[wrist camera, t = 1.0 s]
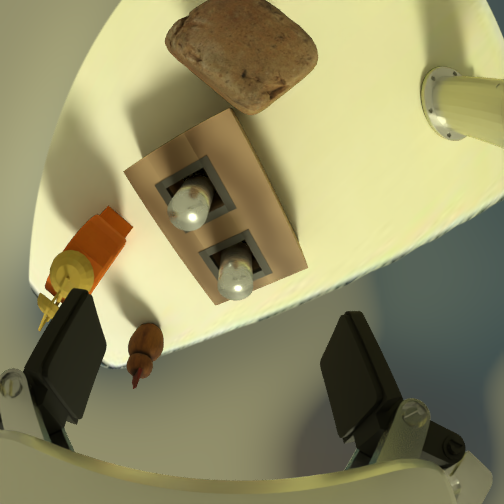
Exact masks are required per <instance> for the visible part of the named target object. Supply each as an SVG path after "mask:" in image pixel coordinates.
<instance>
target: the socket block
mask: <svg viewBox="0 0 504 504" xmlns="http://www.w3.org/2000/svg"><path fill="white" fill-rule="evenodd" d="M201 168H204V170H205V171H206V173H207V175H208V177H209V178H210V180H211V182H212V184H213V185H214V187H215V189H216V191H217V192H218V193H216V194H214V196H213V199H212V202H211V206H210V209H209V212H208V215H207V219H206V221H205V223H204V224H203V225H202V226H201V227H200V228H198V229H196V230H193V231H184V230H180V229H178V228H177V227H175V226H174V225H173V224H172V223H171V221H170V220H169V217H168V213H167V209H168V205H169V203H170V201H171V200H172V198H173V197H174V195H175V194H176V193H177V191H178V190H179V188H180V187H181V186H182V184H183V183H184V181H183V178H185V177H187V176H189V175H190V174H192V173H194V172H196V171H198V170H199V169H201ZM123 172H124V173H125V175H126V177H127V178H128V180H129V181H130V183H131V185H132V186H133V188H134V189H135V191H136V193H137V194H138V196H139V197H140V199H141V200H142V202H143V203H144V205H145V207H146V208H147V210H148V211H149V213H150V214H151V216H152V217H153V219H154V220H155V222H156V223H157V225H158V226H159V228H160V229H161V231H162V232H163V234H164V235H165V236H166V238H167V239H168V241H169V242H170V244H171V245H172V247H173V248H174V249H175V251H176V252H177V254H178V255H179V257H180V258H181V259H182V261H183V262H184V264H185V265H186V266H187V268H188V269H189V271H190V272H191V273H192V275H193V276H194V277H195V279H196V280H197V281H198V283H199V284H200V286H201V287H202V288H203V290H204V291H205V292H206V294H207V295H208V296H209V298H210V299H211V300H212V302H213V303H214V304H215V305H218V304H221V303H223V302H226V301H228V300H229V299H227V298H225V297H223V296H222V295H221V294H220V292H219V291H218V286H217V285H218V277H219V269H220V261H221V253H222V250H223V249H225V248H228V247H230V246H232V245H234V244H236V243H238V242H241V241H243V240H245V241H246V243H247V244H248V246H249V248H250V250H251V255H252V273H253V290H256V289H258V288H261V287H263V286H266V285H268V284H271V283H273V282H275V281H278V280H280V279H283V278H285V277H287V276H290V275H292V274H294V273H297V272H299V271H301V270H304V269H306V268H308V266H307V263H306V260H305V258H304V255H303V252H302V249H301V247H300V244H299V242H298V239H297V237H296V235H295V233H294V231H293V229H292V226H291V224H290V222H289V220H288V218H287V216H286V214H285V212H284V210H283V207H282V205H281V203H280V201H279V199H278V197H277V195H276V193H275V191H274V189H273V187H272V185H271V183H270V181H269V179H268V177H267V175H266V173H265V171H264V169H263V167H262V165H261V163H260V161H259V159H258V157H257V155H256V153H255V151H254V149H253V147H252V145H251V143H250V141H249V139H248V138H247V136H246V134H245V132H244V130H243V128H242V126H241V124H240V122H239V121H238V119H237V117H236V115H235V113H234V111H233V109H232V108H228V109H226V110H224V111H222V112H220V113H218V114H217V115H215V116H213V117H211V118H209V119H207V120H205V121H203V122H202V123H200V124H198V125H196V126H194V127H193V128H191V129H189V130H187V131H186V132H184V133H182V134H180V135H179V136H177V137H175V138H174V139H172V140H170V141H169V142H167V143H165V144H164V145H162V146H161V147H159V148H158V149H156V150H154V151H153V152H151V153H150V154H148V155H147V156H145V157H144V158H142V159H141V160H139V161H138V162H136V163H135V164H133V165H132V166H131V167H129V168H128V169H126V170H125V171H123ZM253 290H252V291H253Z"/></svg>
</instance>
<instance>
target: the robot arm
mask: <svg viewBox="0 0 504 504" xmlns="http://www.w3.org/2000/svg"><path fill="white" fill-rule="evenodd" d="M421 99H422V106H423V110H424V114H425V116H426V119H427V121H428V122H429V124H430V126H431V127H432V129H433V130H434V131H435V132H436V133H437V134H438V135H439V136H441V137H443V138H445V139H448V140H452V141H459V140H461V139H463V138H465V137H466V136H469V137H472V138H475V139H478V140H481V141H484V142H487V143H490V144H493V145H496V146H498V147H501V148H504V79H496V78H485V77H470V76H462V75H461V74H460V73H459V72H457V71H456V70H454V69H452V68H449V67H437V68H434V69H432V70H431V71H430V72H429V73H428V74H427V75H426V77H425V79H424V82H423V84H422V91H421ZM106 346H107V345H106V340H105V337H104V334H103V331H102V328H101V325H100V322H99V318H98V315H97V311H96V308H95V304H94V301H93V297H92V295H91V294H89V292H88V291H87V290H85V289H79V288H73V289H72V290H71V291H70V292H69V294H68V295H67V297H66V298H65V300H64V301H63V303H62V304H61V306H60V307H59V309H58V310H57V312H56V314H55V315H54V317H53V318H52V320H51V322H50V323H49V325H48V326H47V328H46V330H45V331H44V333H43V335H42V336H41V338H40V340H39V342H38V344H37V345H36V347H35V349H34V351H33V352H32V354H31V356H30V358H29V360H28V361H27V363H26V365H25V367H24V368H25V369H24V371H23V372H22V371H21V370H19V369H15V368H12V369H8V370H6V371H4V372H3V373H2V374H1V375H0V504H482V502H483V500H484V499H485V497H486V495H487V493H488V491H489V490H490V488H491V485H492V479H493V478H492V474H491V472H490V471H489V470H488V469H487V468H486V467H485V466H484V465H483V464H482V463H481V462H480V461H479V460H478V459H477V458H476V457H475V456H474V455H473V454H472V453H470V452H469V451H467V452H465V443H464V441H463V439H462V438H461V436H459V435H458V434H456V433H454V432H452V431H450V430H448V429H446V428H444V427H442V426H440V425H438V424H436V423H435V422H433V421H431V420H430V412H429V410H428V408H427V406H426V405H425V404H424V403H423V402H421V401H420V400H417V399H414V398H411V399H410V398H409V399H406V400H403V398H402V395H401V393H400V391H399V388H398V386H397V384H396V382H395V379H394V377H393V375H392V373H391V371H390V368H389V366H388V364H387V362H386V360H385V358H384V356H383V353H382V351H381V349H380V347H379V345H378V343H377V341H376V339H375V337H374V335H373V333H372V331H371V329H370V327H369V325H368V323H367V321H366V319H365V317H364V315H363V313H362V312H360V311H347V312H345V314H344V315H341V317H340V318H339V321H338V323H337V325H336V328H335V330H334V332H333V334H332V337H331V339H330V341H329V343H328V345H327V347H326V350H325V352H324V354H323V356H322V358H321V361H320V367H321V371H322V375H323V378H324V382H325V386H326V389H327V393H328V397H329V401H330V404H331V408H332V412H333V416H334V420H335V424H336V428H337V432H338V435H339V437H340V438H343V442H344V443H350V442H354V441H355V443H356V447H357V449H356V451H355V452H354V454H353V456H352V458H351V460H350V461H349V463H348V465H347V467H346V469H345V470H344V471H338V472H333V473H327V474H320V475H314V476H307V477H298V478H288V479H276V480H256V481H255V480H253V481H230V480H208V479H195V478H184V477H177V476H169V475H163V474H157V473H151V472H146V471H141V470H136V469H132V468H127V467H123V466H120V465H116V464H112V463H108V462H105V461H101V460H98V459H95V458H92V457H89V456H85V455H82V454H79V453H76V452H75V451H74V449H73V446H72V444H71V442H70V440H69V438H68V435H67V433H66V431H65V428H64V426H65V423H66V421H68V422H70V423H73V424H77V422H78V419H81V418H82V417H83V414H84V411H85V408H86V404H87V401H88V398H89V395H90V392H91V390H92V387H93V384H94V381H95V378H96V375H97V373H98V370H99V367H100V365H101V362H102V359H103V357H104V354H105V352H106Z"/></svg>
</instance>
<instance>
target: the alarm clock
mask: <svg viewBox="0 0 504 504" xmlns="http://www.w3.org/2000/svg"><path fill="white" fill-rule="evenodd" d="M132 228H133V227H132V226H131V225H130V224H129V223H128V222H127V221H125V220H124V219H123V218H122V217H121V216H120V215H119V214H117V213H116V212H115V211H114V210H113V209H112V208H111V207H109V206H108V207H107V208H106V209H105V210H104V211H103V212H102V213H101V214H100V215H98V214H97V215H94V216H93V217H92V218H91V219H89V220H88V221H87V222H86V223H85V224H84V225H83V226H82V227H81V229H80V230H79V231H78V232H77V233H76V234H75V236H74V237H73V238H72V239H71V241H70V242H69V243H68V245H67V246H66V248H65V249H64V250H63V252H61V253H60V254H58V255H57V256H56V257H55V259H54V260H53V262H52V265H51V268H50V274H49V276H48V278H47V281H46V284H45V289H46V290H47V291H49V292H50V293H51V294H52V295H53V296H54V298H53V300H52V301H51V300H49V299H48V298H47V297H46V296H44V295H43V294H42V293H40V294H39V297H38V299H37V300H38V306H39V308H40V310H41V311H42V312H43V313H44V316H43V319H42V321H41V324H40V326H39V329H38V330H39V331H41V329H42V327H43V326H44V324H45V323H46V321H47V322H48V321H49V320H50V319H52V318H53V317H54V315H55V314H56V312H57V310H58V309H59V307H58V305H59V303H60V302H61V303H63V301H64V300H65V298H66V297H67V295H68V294H69V292H70V291H71V290H72V289H73V288H79V289H85V290H87V291H88V292H89V294H91V293H92V292H93V290H94V289H95V287H96V286H97V284H98V283H99V281H100V280H101V278H102V277H103V276H104V274H105V273H106V271H107V270H108V268H109V267H110V265H111V264H112V263H113V261H114V260H115V258H116V257H117V256H118V254H119V253H120V251H121V250H122V248H123V247H124V245H125V243H126V239H125V237H126V236H127V235H128V233H129V232H130V231H131V229H132ZM56 298H57V299H56ZM55 300H56V301H57V302H56V303H55V304H54V301H55ZM46 315H47V317H46ZM45 318H46V319H45Z"/></svg>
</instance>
